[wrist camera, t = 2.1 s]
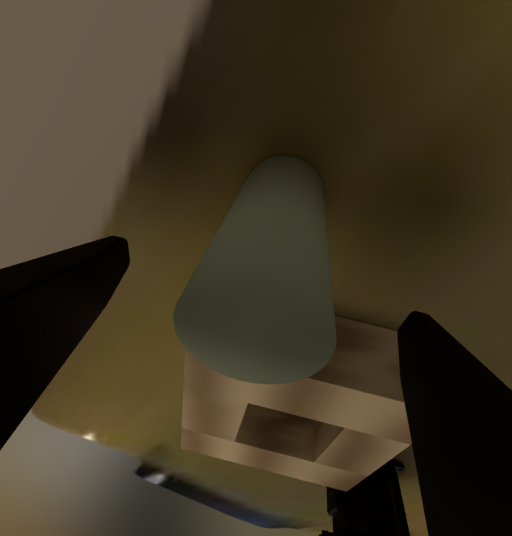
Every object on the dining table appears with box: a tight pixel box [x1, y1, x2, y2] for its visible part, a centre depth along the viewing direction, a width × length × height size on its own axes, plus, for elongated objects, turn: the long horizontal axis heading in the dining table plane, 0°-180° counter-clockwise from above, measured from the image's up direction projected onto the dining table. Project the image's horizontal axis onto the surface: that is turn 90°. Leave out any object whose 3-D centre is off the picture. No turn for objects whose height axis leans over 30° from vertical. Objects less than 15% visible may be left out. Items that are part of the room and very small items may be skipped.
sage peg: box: [174, 156, 336, 384], centre depth 10 cm, size 4×4×9 cm
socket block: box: [181, 316, 412, 492], centre depth 20 cm, size 14×14×5 cm
